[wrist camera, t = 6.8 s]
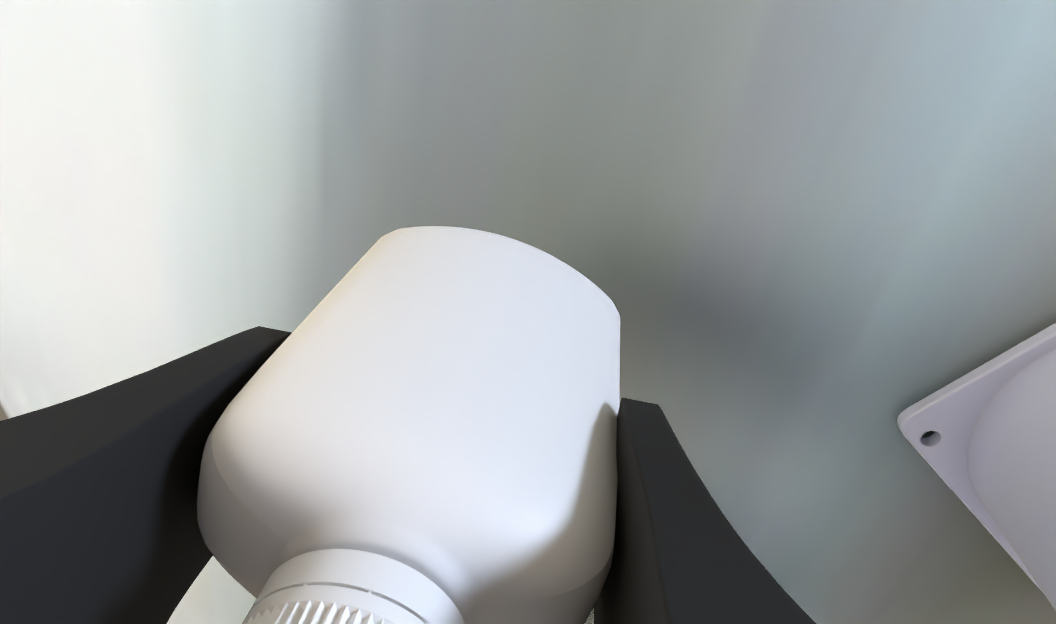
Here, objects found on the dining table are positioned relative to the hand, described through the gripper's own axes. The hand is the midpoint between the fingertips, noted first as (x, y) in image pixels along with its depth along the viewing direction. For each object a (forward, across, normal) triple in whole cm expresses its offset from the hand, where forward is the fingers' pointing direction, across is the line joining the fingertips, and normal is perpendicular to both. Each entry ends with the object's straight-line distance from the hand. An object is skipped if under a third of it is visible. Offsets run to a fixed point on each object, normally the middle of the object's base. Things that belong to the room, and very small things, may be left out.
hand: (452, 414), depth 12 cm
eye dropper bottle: (+5, 0, 0) cm, 5 cm away
